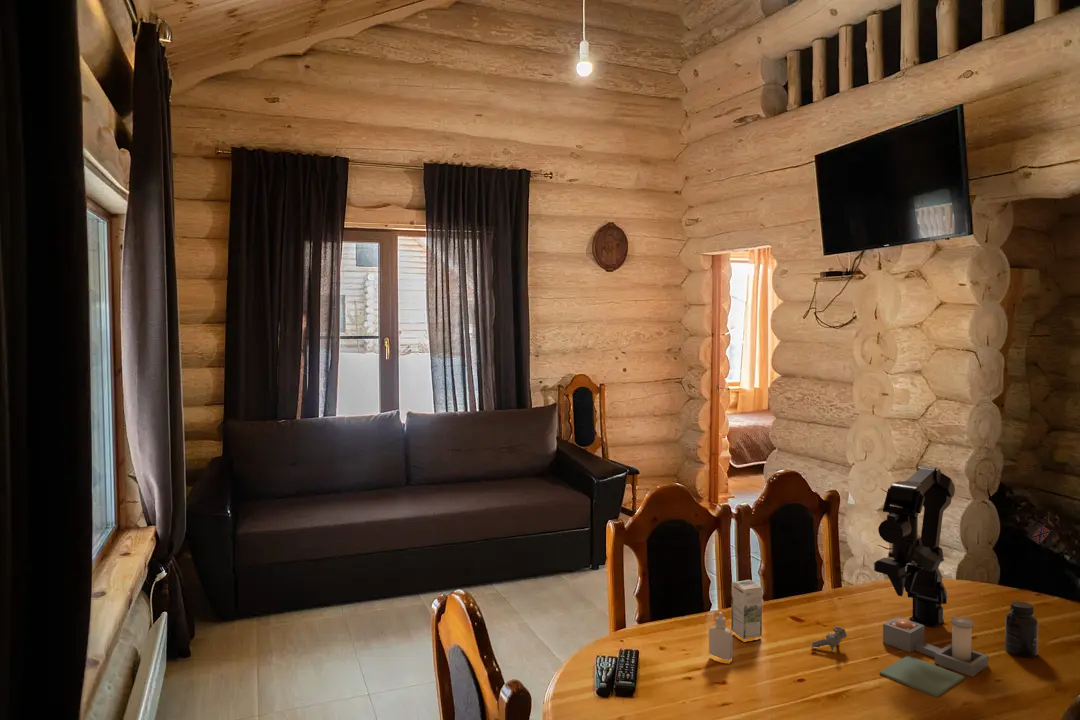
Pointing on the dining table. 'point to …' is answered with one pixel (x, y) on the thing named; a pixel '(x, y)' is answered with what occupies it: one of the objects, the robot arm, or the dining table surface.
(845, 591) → the dining table surface
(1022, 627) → the supplement bottle
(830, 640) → the grey limbed figure piece
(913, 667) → the green mat
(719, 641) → the eye dropper bottle
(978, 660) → the grey long framed piece
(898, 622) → the plunger
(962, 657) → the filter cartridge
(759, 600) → the syrup box
